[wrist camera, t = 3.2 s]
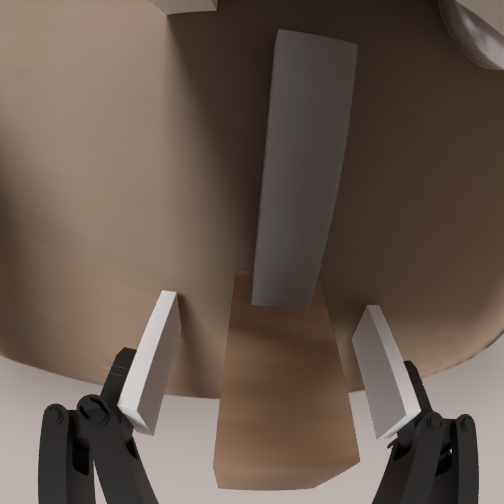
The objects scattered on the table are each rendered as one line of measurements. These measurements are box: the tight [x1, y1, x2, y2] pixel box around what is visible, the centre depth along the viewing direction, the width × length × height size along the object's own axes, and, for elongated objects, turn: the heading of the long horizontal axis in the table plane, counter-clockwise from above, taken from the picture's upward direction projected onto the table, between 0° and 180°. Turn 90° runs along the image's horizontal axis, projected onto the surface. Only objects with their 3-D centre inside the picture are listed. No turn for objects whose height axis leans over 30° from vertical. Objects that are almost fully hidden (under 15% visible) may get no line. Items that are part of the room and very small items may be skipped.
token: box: [437, 0, 504, 70], centre depth 4 cm, size 5×5×2 cm
